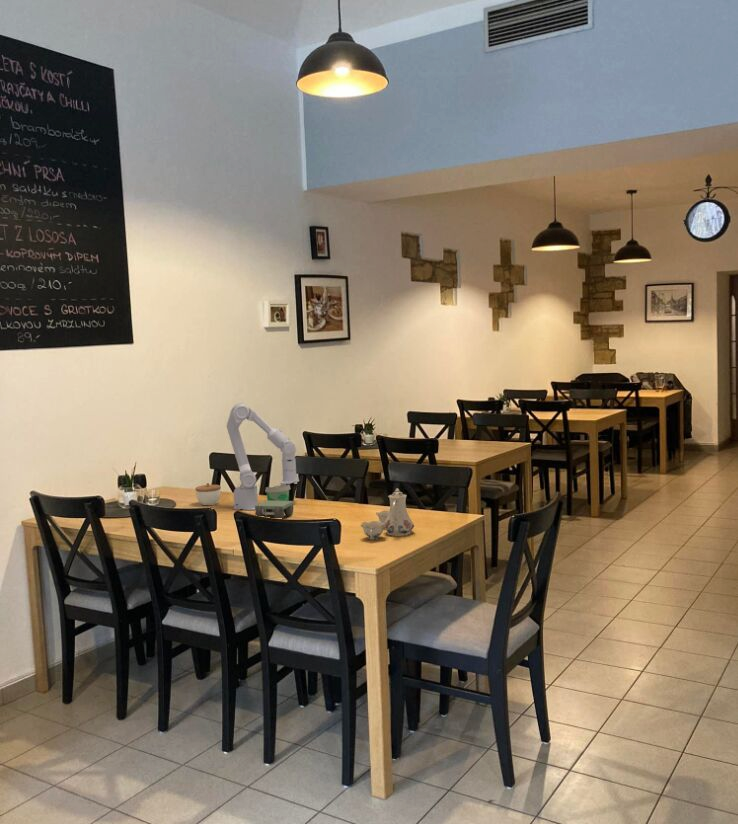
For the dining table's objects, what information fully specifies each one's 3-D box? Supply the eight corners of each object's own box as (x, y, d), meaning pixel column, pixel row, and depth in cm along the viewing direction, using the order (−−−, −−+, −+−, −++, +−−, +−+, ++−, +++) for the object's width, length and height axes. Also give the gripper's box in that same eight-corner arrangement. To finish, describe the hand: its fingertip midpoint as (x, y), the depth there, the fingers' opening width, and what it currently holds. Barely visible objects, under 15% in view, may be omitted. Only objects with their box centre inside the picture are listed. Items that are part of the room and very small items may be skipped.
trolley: (253, 521, 314) (252, 506, 313) (269, 513, 327) (268, 499, 327) (281, 522, 310) (280, 507, 309) (296, 514, 324) (295, 499, 323)
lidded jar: (224, 501, 356) (223, 480, 355) (217, 506, 345) (216, 485, 344) (200, 502, 357) (199, 481, 356) (193, 507, 346) (191, 485, 345)
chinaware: (378, 527, 302) (371, 484, 301) (421, 523, 298) (415, 479, 297) (360, 547, 275) (353, 499, 274) (408, 543, 271) (401, 494, 270)
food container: (277, 512, 328) (275, 488, 327) (266, 511, 331) (264, 487, 330) (297, 507, 337) (296, 483, 336) (286, 505, 341) (285, 482, 340)
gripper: (291, 472, 333) (292, 505, 335) (304, 466, 347) (306, 498, 348) (275, 472, 336) (277, 504, 337) (289, 466, 349) (291, 497, 351)
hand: (290, 501), depth 343 cm, fingers closed
